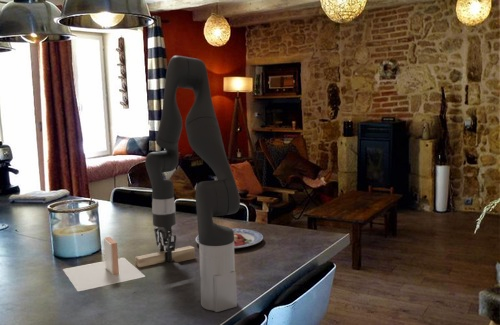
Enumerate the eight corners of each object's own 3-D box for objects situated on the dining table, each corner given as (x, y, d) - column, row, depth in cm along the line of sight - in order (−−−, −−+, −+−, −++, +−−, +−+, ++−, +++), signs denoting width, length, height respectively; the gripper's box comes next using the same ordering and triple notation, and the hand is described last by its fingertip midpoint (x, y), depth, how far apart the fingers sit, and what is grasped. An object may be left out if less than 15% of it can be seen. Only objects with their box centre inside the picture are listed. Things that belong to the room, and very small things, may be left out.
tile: (118, 274, 147) (117, 242, 146) (112, 275, 146) (110, 243, 145) (111, 266, 154) (109, 236, 153) (105, 267, 153) (103, 237, 152)
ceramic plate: (182, 248, 176) (181, 240, 176) (218, 230, 199) (218, 223, 199) (242, 257, 164) (242, 249, 164) (274, 237, 187) (274, 230, 187)
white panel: (146, 279, 145) (145, 276, 145) (78, 294, 134) (77, 291, 134) (123, 260, 163) (123, 257, 163) (62, 272, 153) (62, 269, 153)
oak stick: (195, 259, 164) (194, 247, 163) (139, 271, 153) (138, 259, 153) (191, 256, 166) (190, 245, 166) (135, 268, 156) (135, 256, 155)
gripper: (183, 213, 153) (185, 264, 156) (166, 205, 165) (168, 253, 168) (161, 216, 150) (163, 269, 152) (145, 208, 161) (148, 257, 164)
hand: (166, 260), depth 160 cm, fingers open, 3 cm apart
